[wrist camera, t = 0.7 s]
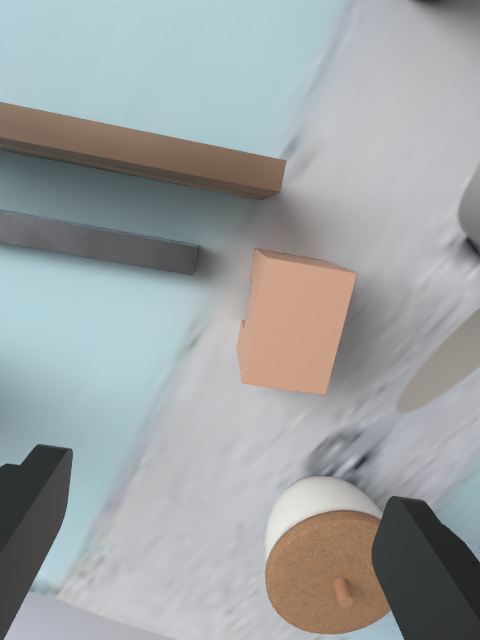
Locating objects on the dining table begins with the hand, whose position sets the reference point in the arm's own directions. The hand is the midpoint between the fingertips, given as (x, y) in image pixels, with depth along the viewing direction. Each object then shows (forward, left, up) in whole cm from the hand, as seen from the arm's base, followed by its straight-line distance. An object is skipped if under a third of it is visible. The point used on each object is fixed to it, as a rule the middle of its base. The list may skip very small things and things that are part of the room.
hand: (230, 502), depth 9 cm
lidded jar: (+17, +11, -21) cm, 30 cm away
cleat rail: (-4, -11, -21) cm, 24 cm away
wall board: (-9, -11, -21) cm, 25 cm away
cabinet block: (-1, +4, -21) cm, 22 cm away
